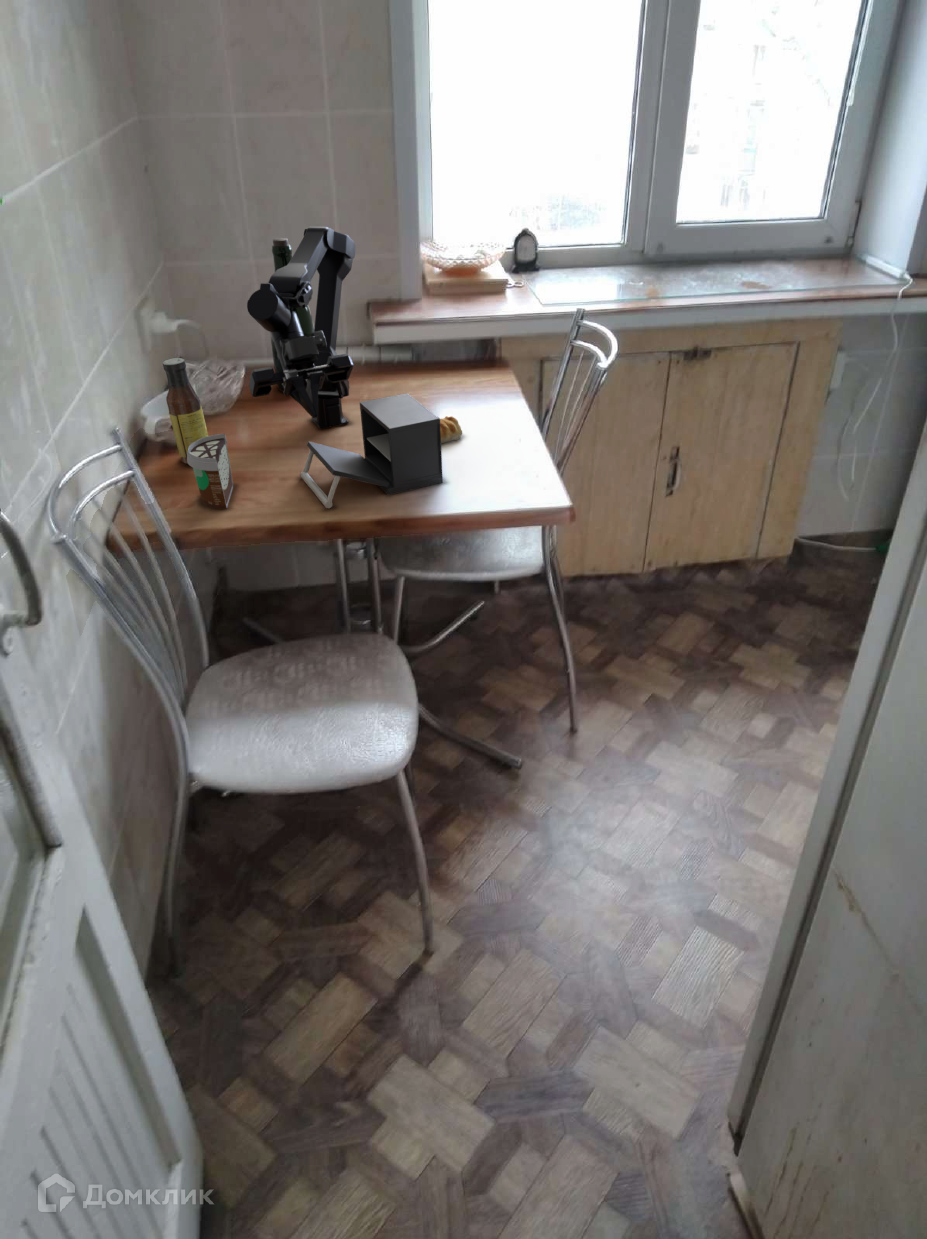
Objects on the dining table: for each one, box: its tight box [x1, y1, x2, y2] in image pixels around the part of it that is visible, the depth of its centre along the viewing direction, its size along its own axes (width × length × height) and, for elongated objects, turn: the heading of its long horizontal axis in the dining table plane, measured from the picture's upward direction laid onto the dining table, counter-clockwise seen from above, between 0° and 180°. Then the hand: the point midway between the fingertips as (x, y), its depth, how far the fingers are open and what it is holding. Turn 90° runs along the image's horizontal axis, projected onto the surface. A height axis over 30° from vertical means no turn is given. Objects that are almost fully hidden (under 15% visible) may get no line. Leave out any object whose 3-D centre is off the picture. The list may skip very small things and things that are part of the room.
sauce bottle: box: [162, 357, 209, 465], centre depth 174 cm, size 6×6×20 cm
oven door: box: [299, 441, 389, 509], centre depth 167 cm, size 7×15×11 cm
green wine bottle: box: [269, 237, 315, 392], centre depth 205 cm, size 10×10×33 cm
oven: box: [359, 392, 444, 496], centre depth 168 cm, size 11×15×12 cm
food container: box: [187, 433, 234, 510], centre depth 162 cm, size 12×6×10 cm, turn 5°
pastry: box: [440, 415, 463, 444], centre depth 185 cm, size 9×7×4 cm
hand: (315, 417), depth 165 cm, fingers closed
